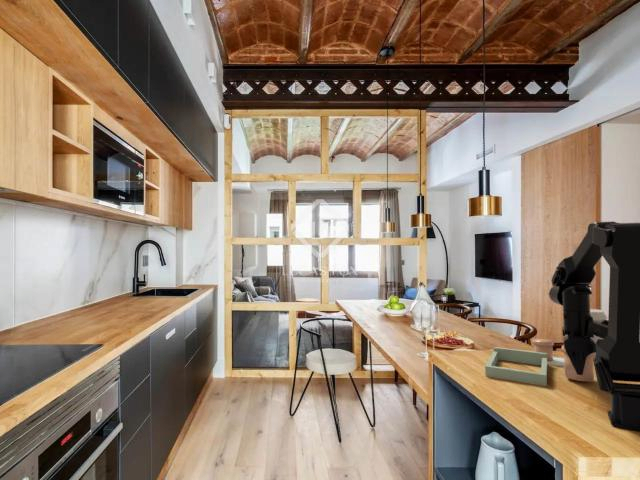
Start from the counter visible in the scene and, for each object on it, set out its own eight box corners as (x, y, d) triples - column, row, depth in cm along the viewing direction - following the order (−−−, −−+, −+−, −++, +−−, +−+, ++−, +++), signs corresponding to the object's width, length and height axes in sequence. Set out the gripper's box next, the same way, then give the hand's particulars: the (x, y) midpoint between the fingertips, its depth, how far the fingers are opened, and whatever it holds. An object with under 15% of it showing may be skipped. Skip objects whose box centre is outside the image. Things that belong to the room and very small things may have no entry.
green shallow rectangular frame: (546, 387, 88) (546, 371, 88) (485, 377, 96) (485, 362, 96) (547, 367, 103) (546, 353, 103) (494, 359, 111) (494, 346, 111)
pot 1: (554, 362, 105) (553, 343, 105) (532, 359, 108) (531, 341, 108) (554, 357, 109) (553, 339, 109) (533, 355, 112) (532, 337, 113)
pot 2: (597, 384, 86) (596, 353, 86) (563, 378, 90) (561, 349, 90) (594, 375, 92) (593, 346, 92) (562, 370, 96) (561, 343, 96)
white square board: (572, 370, 100) (572, 367, 100) (523, 363, 106) (523, 361, 106) (570, 360, 109) (570, 358, 109) (525, 354, 115) (525, 352, 115)
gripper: (623, 319, 79) (626, 389, 79) (611, 307, 95) (613, 365, 94) (562, 314, 85) (565, 380, 85) (561, 304, 101) (563, 359, 100)
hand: (578, 370), depth 91 cm, fingers open, 6 cm apart
